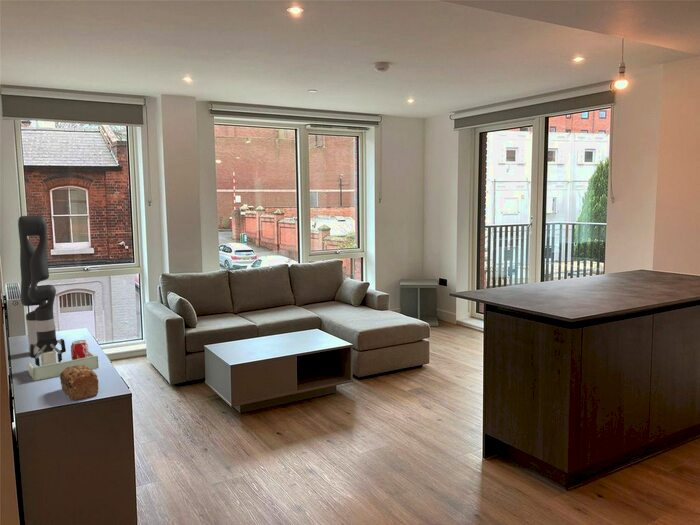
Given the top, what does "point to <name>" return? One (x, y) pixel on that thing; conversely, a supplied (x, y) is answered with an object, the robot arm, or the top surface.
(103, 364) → the top surface
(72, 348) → the soda can
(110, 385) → the top surface
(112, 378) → the top surface
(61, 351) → the robot arm
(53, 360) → the cream rectangular block
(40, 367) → the u-shaped bracket
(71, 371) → the bread
